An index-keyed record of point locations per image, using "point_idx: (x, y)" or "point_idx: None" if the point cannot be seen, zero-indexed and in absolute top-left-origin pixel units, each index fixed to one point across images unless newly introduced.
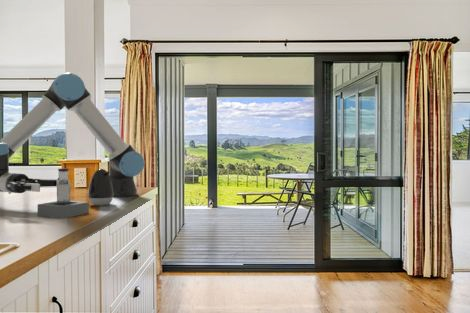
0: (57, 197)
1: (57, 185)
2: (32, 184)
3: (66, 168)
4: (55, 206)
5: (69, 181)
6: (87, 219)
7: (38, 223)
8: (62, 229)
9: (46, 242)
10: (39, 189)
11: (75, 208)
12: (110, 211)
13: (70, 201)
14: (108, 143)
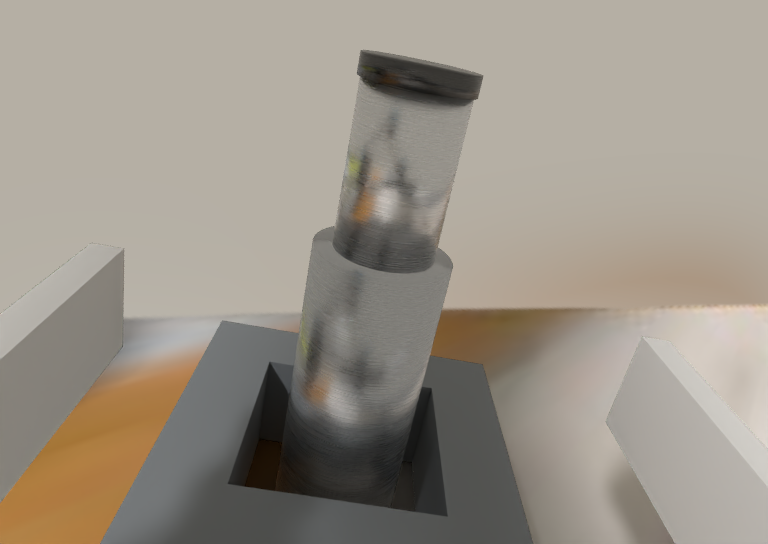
0: (418, 395)
1: (449, 279)
2: (724, 417)
3: (367, 51)
4: (494, 407)
5: (113, 257)
6: None
7: None
8: (598, 339)
9: (704, 314)
10: (622, 399)
11: None
12: (131, 322)
13: (222, 431)
14: None
